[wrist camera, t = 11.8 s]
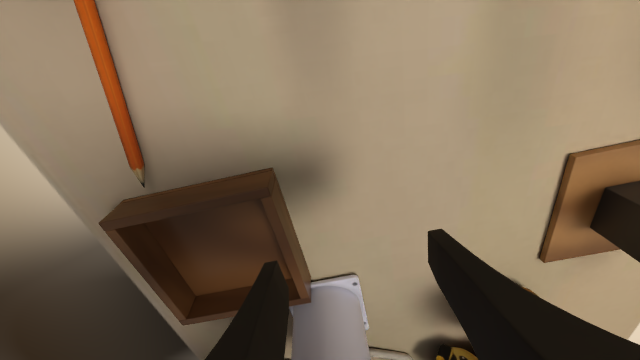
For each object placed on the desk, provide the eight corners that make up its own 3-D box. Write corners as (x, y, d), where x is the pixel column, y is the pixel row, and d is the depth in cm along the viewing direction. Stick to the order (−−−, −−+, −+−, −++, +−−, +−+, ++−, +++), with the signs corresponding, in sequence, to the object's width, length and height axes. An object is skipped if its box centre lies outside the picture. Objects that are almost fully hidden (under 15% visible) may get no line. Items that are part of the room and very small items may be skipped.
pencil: (39, -195, 11) (19, -212, 10) (153, 185, 20) (147, 191, 20) (17, -197, 11) (-5, -214, 10) (141, 185, 20) (135, 191, 19)
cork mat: (653, 238, 26) (660, 242, 25) (539, 258, 27) (543, 263, 26) (718, 123, 20) (729, 125, 19) (569, 154, 21) (576, 157, 20)
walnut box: (310, 276, 26) (311, 302, 24) (194, 298, 27) (182, 325, 25) (272, 167, 20) (267, 187, 18) (123, 199, 21) (97, 223, 18)
